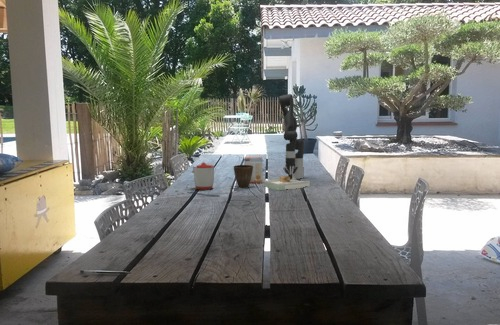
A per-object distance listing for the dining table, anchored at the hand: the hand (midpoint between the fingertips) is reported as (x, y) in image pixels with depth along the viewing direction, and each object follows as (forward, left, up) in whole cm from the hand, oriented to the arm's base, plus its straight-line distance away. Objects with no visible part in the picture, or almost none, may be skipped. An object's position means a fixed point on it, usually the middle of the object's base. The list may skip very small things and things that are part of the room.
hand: (290, 179), depth 374 cm
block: (+5, 0, -2) cm, 5 cm away
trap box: (+6, +5, -5) cm, 9 cm away
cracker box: (+18, -25, -5) cm, 32 cm away
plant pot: (+35, -11, -5) cm, 37 cm away
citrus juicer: (+64, -21, -5) cm, 68 cm away
